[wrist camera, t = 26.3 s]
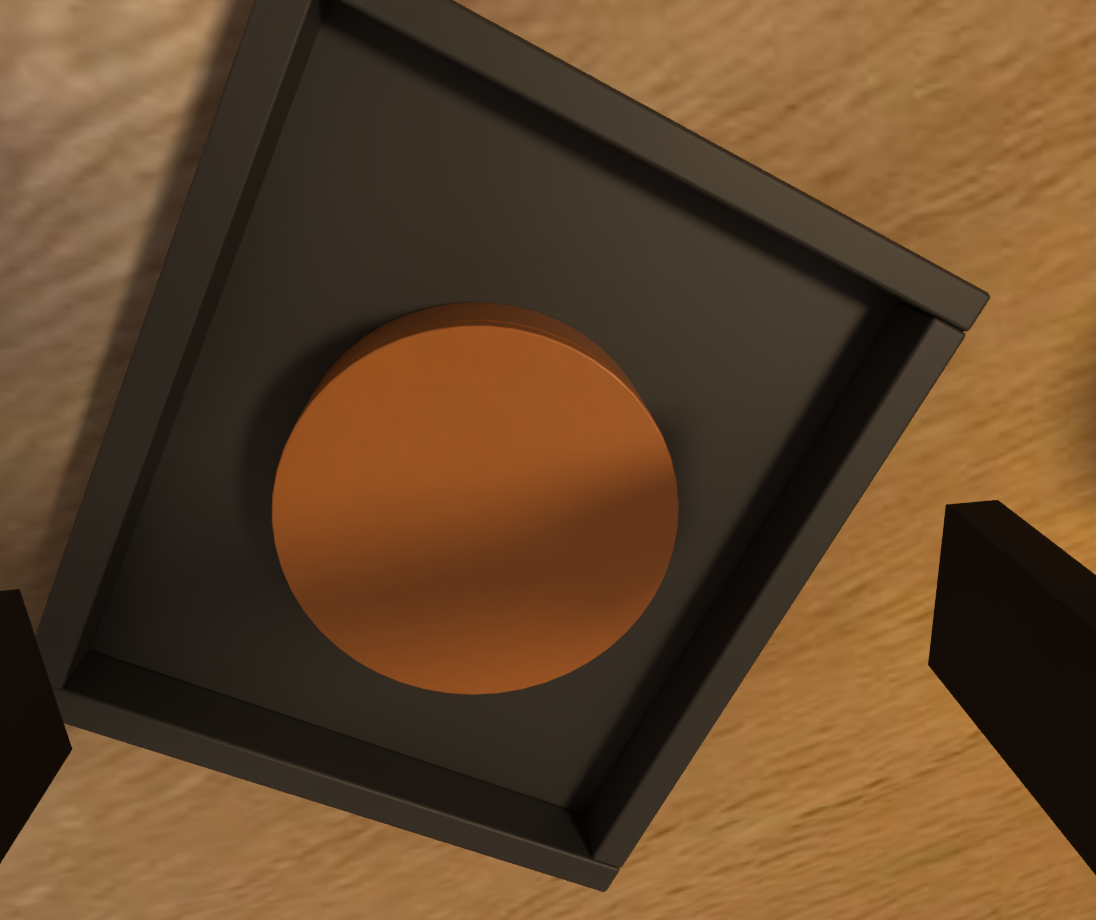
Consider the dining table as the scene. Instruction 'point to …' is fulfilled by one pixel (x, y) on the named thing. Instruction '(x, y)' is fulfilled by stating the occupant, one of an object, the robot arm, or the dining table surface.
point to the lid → (475, 500)
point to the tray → (468, 277)
